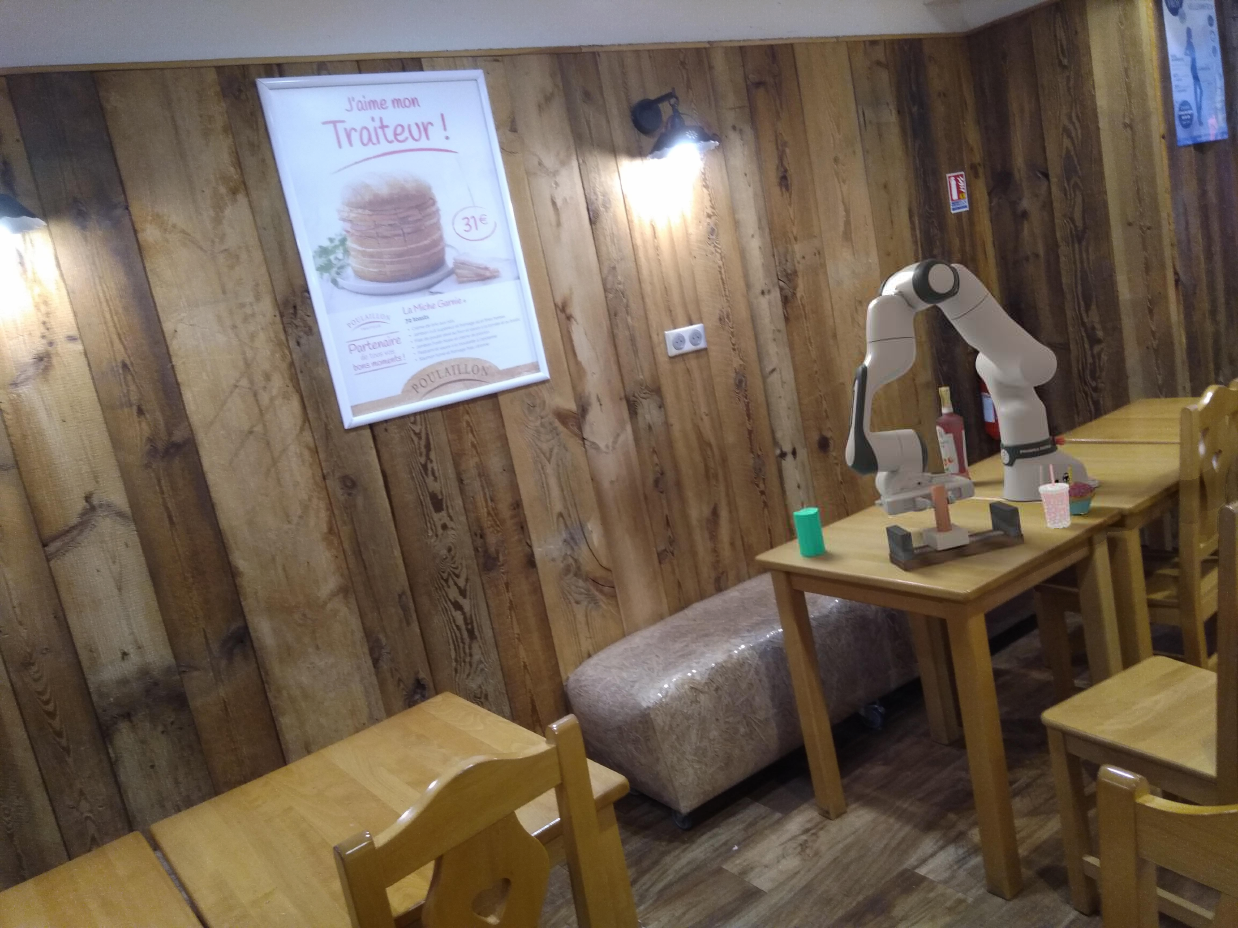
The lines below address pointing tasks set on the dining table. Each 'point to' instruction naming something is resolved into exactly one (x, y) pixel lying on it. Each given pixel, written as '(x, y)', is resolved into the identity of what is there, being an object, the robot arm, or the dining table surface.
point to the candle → (809, 532)
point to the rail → (999, 537)
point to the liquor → (951, 437)
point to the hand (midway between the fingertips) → (942, 502)
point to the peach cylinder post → (943, 524)
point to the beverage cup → (1056, 503)
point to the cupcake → (1079, 495)
